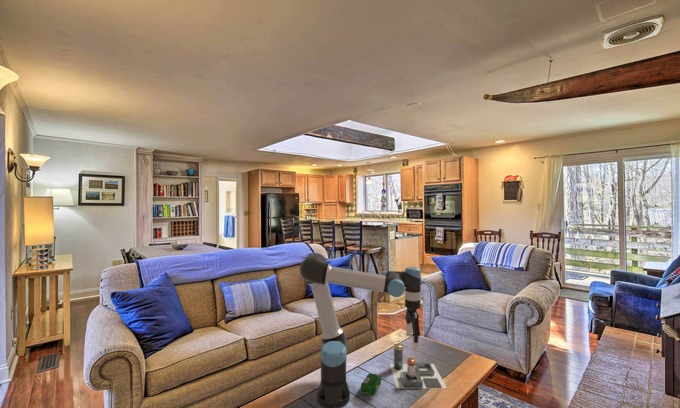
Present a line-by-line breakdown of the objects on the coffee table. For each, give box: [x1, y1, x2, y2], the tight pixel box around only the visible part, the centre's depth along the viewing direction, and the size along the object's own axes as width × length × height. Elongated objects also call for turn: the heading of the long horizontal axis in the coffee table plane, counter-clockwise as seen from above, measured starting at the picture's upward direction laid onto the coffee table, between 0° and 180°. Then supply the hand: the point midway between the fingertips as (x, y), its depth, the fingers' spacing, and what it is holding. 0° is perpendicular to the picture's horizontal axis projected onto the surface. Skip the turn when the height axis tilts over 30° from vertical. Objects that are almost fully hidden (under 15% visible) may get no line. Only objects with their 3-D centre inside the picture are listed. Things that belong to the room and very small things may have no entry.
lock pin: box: [406, 357, 416, 380], centre depth 154 cm, size 4×4×11 cm
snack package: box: [360, 373, 382, 397], centre depth 149 cm, size 7×16×5 cm, turn 155°
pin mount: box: [400, 372, 424, 389], centre depth 154 cm, size 9×9×3 cm
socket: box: [415, 362, 434, 375], centre depth 164 cm, size 8×8×2 cm
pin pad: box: [423, 378, 443, 389], centre depth 153 cm, size 7×7×1 cm
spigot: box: [393, 343, 404, 370], centre depth 167 cm, size 5×5×12 cm
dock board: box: [389, 363, 448, 389], centre depth 160 cm, size 24×22×1 cm
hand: (412, 342), depth 154 cm, fingers open, 13 cm apart
